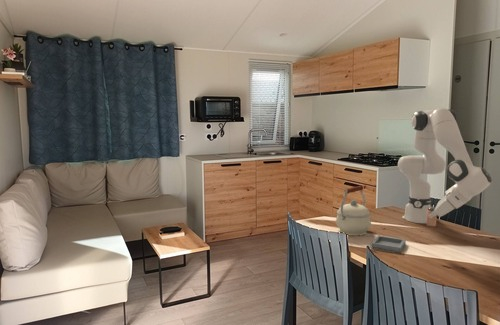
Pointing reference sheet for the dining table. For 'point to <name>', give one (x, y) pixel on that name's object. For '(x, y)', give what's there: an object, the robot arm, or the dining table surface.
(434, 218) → the terracotta jar
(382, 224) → the dining table surface
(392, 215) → the dining table surface
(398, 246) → the tray
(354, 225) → the kettle
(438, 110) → the robot arm
